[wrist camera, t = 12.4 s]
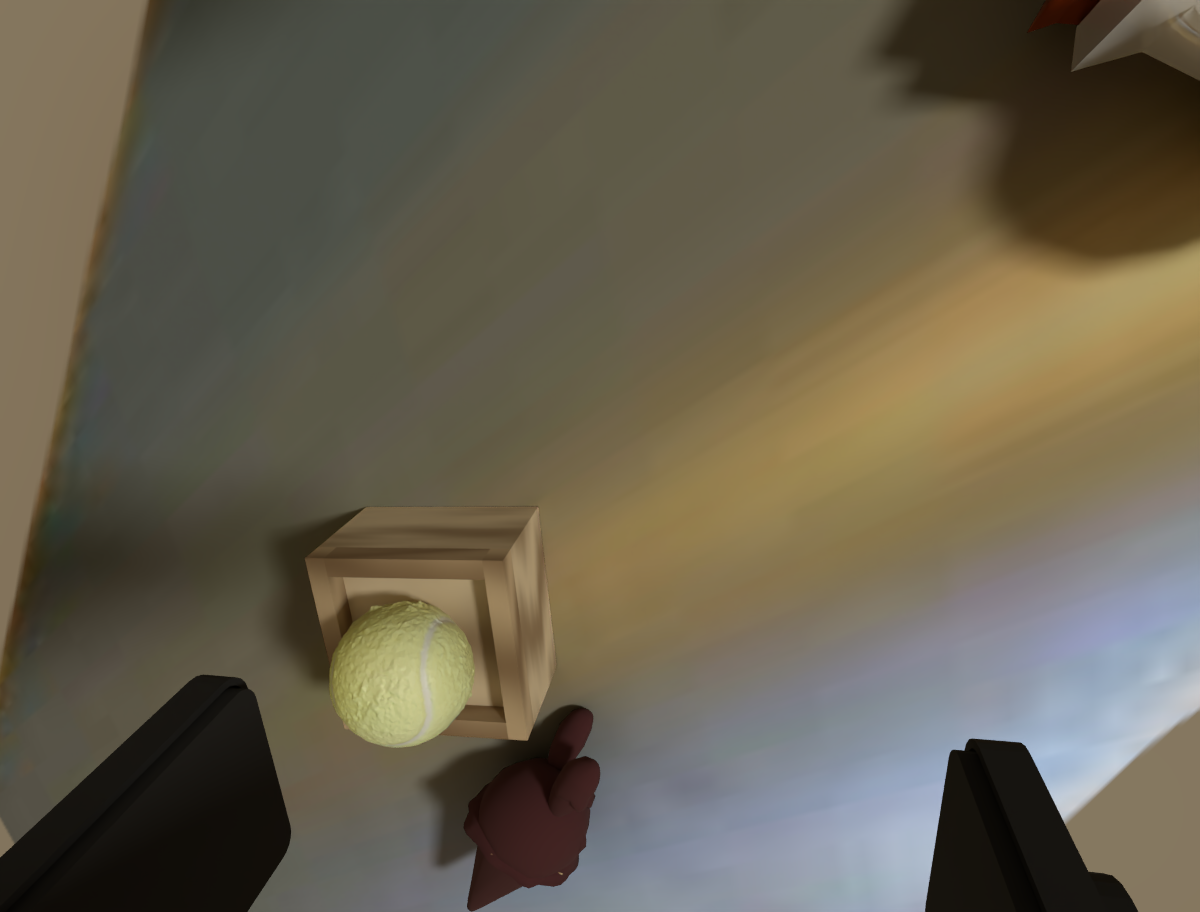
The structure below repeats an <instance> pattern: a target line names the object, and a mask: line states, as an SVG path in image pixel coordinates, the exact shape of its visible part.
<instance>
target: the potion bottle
mask: <svg viewBox="0 0 1200 912" xmlns="http://www.w3.org/2000/svg"><path fill="white" fill-rule="evenodd" d="M1055 23H1062V24H1075V25H1077V27H1076V35H1075V43H1074V51H1073V59H1072V67H1071V72H1072V71H1075V70H1079V69H1083V68H1086V67H1090V66H1093V65H1097V64H1101V63H1104V62H1108V61H1111V60H1115V59H1119V58H1122V57H1126V56H1129V55H1133V54H1137V53H1140V52H1143V53H1145V54H1147V55H1149V56H1151V57H1153V58H1155V59H1157V60H1159V61H1161V62H1163V63H1165V64H1167V65H1169V66H1171V67H1173V68H1175V69H1177V70H1179V71H1181V72H1183V73H1185V74H1187V75H1189V76H1191V77H1193V78H1195V79H1197V80H1199V81H1200V0H1046V1H1045V2H1044V4H1043V6H1042V7H1041V9H1040V11H1039V13H1038V14H1037V16H1036V18H1035V19H1034V21H1033V23H1032V25H1031V26H1030V28H1029V30H1028V32H1031V31H1034V30H1037V29H1040V28H1043V27H1046V26H1049V25H1052V24H1055ZM1028 32H1027V33H1028Z"/></svg>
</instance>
